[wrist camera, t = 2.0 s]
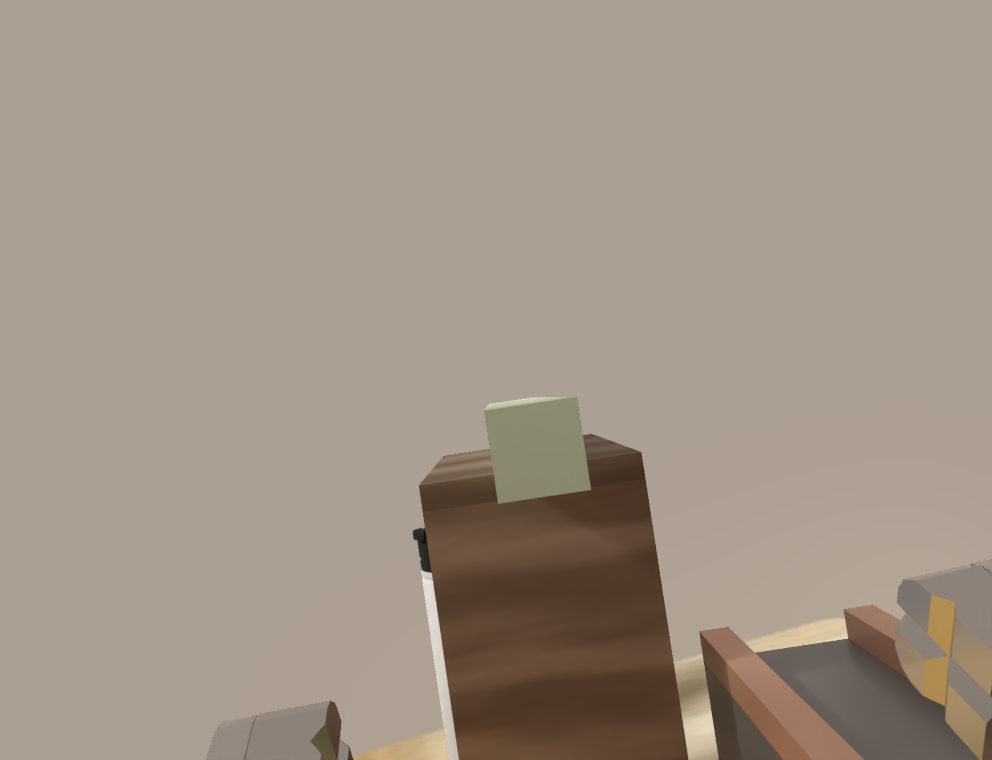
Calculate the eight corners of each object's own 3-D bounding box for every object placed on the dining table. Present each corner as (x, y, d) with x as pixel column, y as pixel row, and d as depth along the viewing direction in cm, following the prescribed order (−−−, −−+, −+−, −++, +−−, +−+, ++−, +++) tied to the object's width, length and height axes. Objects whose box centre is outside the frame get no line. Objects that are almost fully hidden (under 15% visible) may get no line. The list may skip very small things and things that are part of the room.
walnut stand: (731, 1042, 31) (641, 452, 32) (505, 1077, 31) (418, 485, 32) (650, 824, 47) (591, 433, 48) (501, 847, 47) (443, 455, 48)
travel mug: (432, 775, 58) (396, 528, 58) (497, 742, 62) (463, 511, 62) (477, 804, 53) (437, 533, 53) (544, 766, 57) (507, 514, 57)
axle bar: (590, 489, 23) (577, 396, 23) (498, 503, 23) (484, 410, 23) (540, 442, 47) (533, 397, 47) (495, 449, 47) (488, 403, 47)
